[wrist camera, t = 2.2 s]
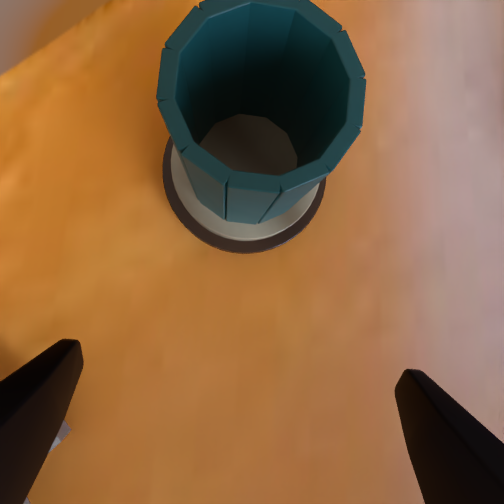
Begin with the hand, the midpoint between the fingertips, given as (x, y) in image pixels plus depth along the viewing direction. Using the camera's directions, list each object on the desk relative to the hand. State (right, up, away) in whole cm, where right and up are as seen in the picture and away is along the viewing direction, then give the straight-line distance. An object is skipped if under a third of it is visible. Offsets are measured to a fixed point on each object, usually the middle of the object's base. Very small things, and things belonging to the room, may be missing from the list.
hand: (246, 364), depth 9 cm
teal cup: (0, +8, +10) cm, 13 cm away
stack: (0, +8, +12) cm, 15 cm away
